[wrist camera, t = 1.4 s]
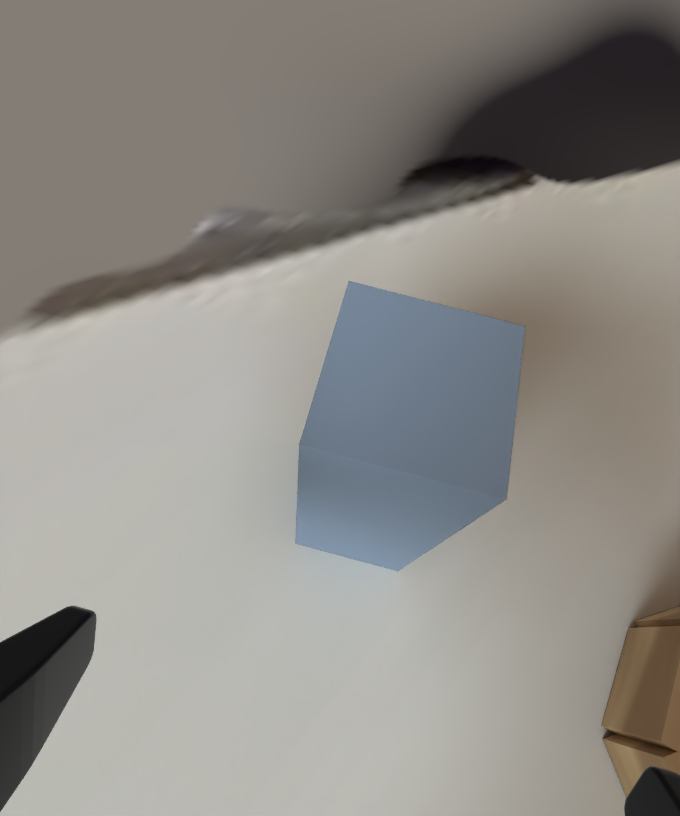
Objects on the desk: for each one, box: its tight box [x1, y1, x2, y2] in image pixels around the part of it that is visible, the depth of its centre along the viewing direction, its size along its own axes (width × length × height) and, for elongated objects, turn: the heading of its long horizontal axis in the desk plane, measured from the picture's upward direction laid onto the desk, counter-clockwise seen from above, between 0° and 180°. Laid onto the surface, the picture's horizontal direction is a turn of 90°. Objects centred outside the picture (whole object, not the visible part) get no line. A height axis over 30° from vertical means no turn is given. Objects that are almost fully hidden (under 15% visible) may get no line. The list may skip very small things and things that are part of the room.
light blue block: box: [295, 281, 525, 571], centre depth 17 cm, size 4×4×12 cm
